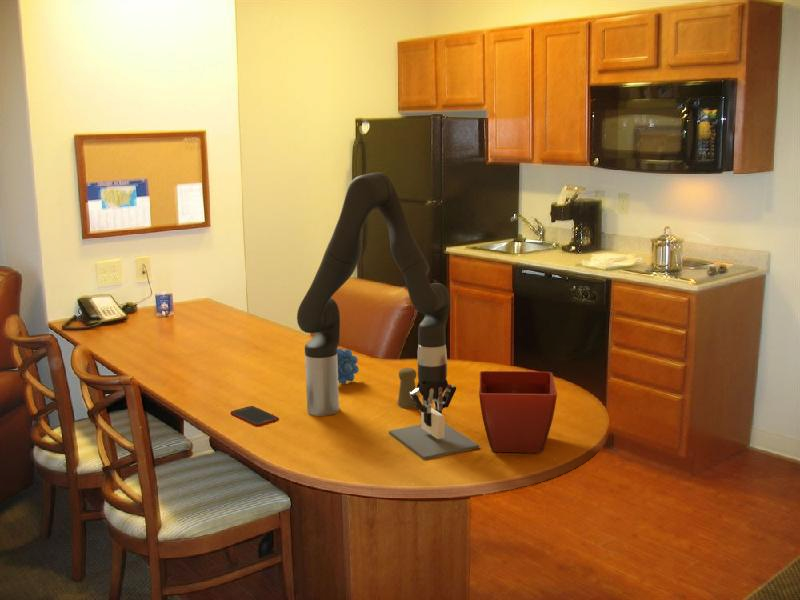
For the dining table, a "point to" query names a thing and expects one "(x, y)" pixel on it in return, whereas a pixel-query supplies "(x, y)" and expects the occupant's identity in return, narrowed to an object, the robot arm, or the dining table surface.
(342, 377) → the grapes
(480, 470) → the dining table surface
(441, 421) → the card box
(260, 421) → the cell phone
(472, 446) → the mat
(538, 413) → the plant pot
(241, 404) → the dining table surface
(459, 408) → the dining table surface
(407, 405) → the cork
